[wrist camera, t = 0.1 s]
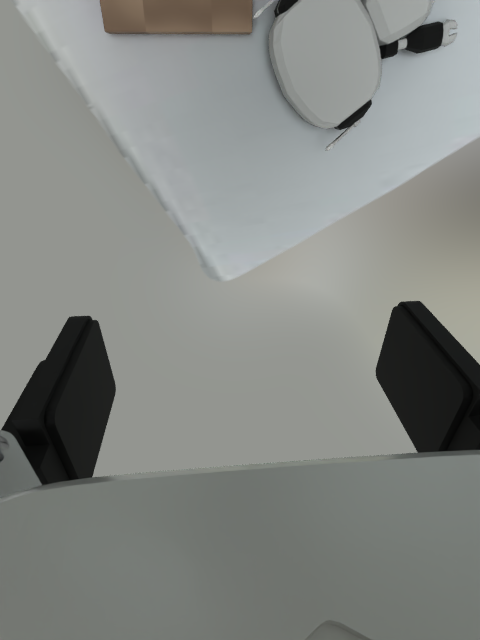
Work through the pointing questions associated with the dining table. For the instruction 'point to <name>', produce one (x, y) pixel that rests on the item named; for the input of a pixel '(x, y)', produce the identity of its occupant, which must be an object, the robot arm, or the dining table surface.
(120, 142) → the dining table surface
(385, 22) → the robot toy
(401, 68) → the dining table surface
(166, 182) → the dining table surface
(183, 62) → the dining table surface
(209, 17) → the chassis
